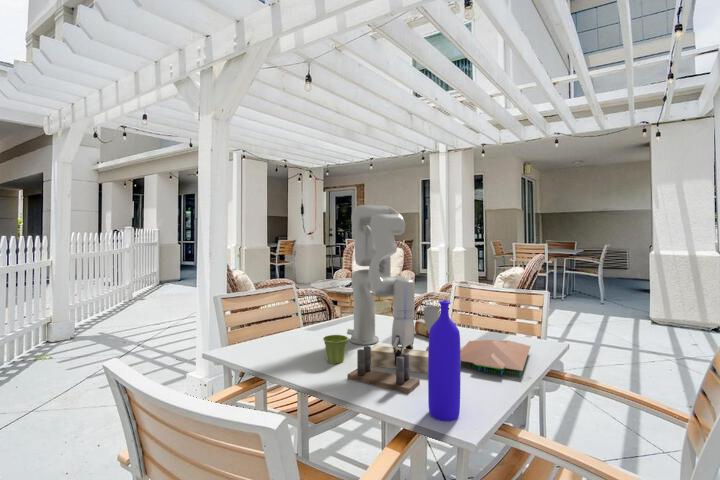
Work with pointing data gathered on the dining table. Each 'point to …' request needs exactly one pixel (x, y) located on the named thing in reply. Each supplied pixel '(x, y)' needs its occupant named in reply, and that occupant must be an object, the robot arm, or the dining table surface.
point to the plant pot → (335, 348)
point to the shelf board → (386, 358)
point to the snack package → (421, 328)
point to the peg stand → (384, 373)
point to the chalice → (430, 316)
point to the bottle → (444, 367)
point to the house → (495, 355)
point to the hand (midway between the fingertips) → (403, 362)
